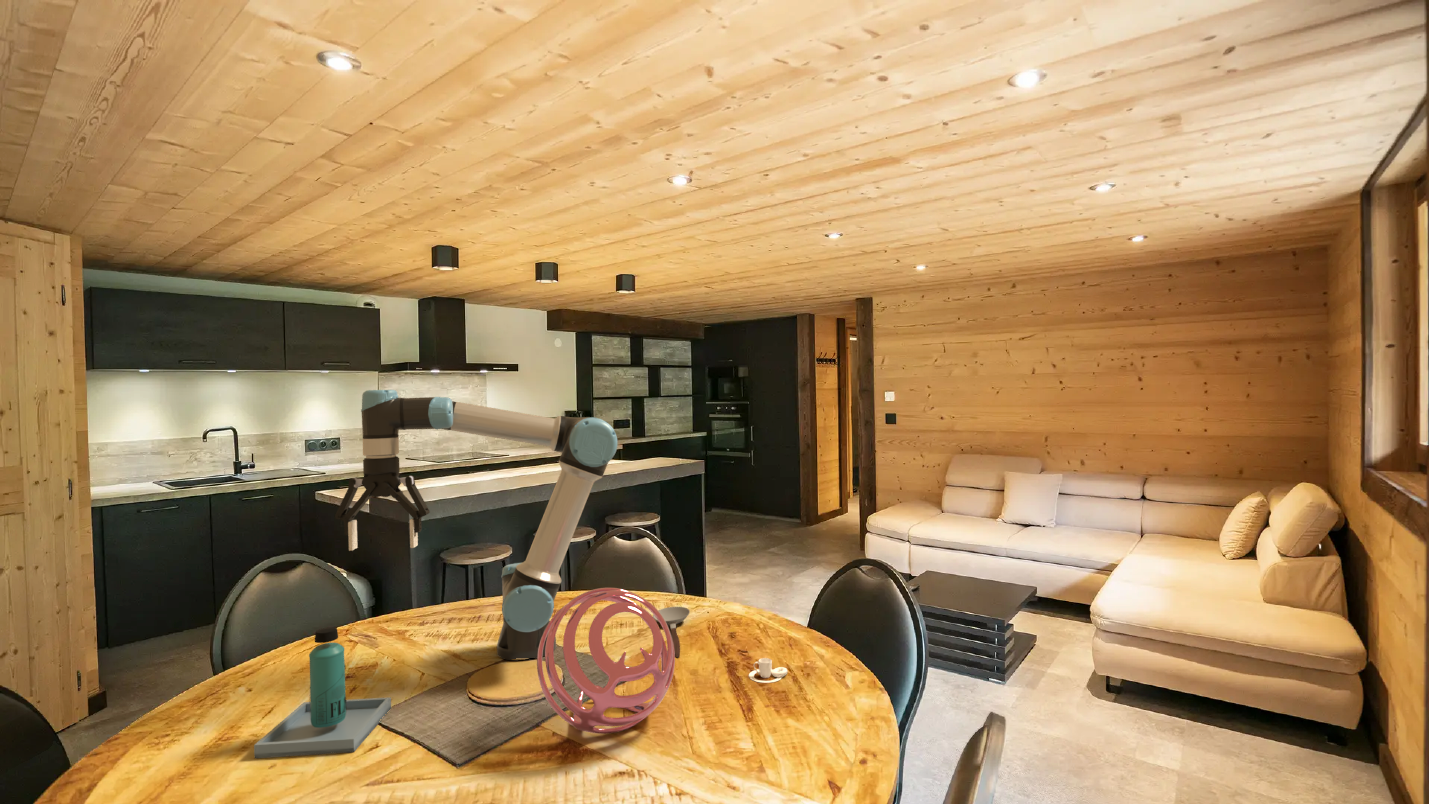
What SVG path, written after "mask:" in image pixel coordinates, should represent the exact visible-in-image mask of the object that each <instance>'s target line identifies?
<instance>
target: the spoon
mask: <svg viewBox="0 0 1429 804" xmlns="http://www.w3.org/2000/svg"><path fill="white" fill-rule="evenodd" d="M657 610H658V609H657ZM658 611H659V612H660V614H661V615H662V616H663V618H664V620H665V621H666V623H667V626H669V627H670V628H669V629H670V633H671V636H672V640H673V644H674V651H675V659H677V658H680V656H681V655H680V654H681V643H680V638H679V636H678V632H677V625H678V624H680V623H682V622H683V621H684V620H686V618H688V616H689V615H690V612H691V611H690V609H689V608H687V607H684V606H669V607H664V608H661V609H659V610H658ZM652 617H653V618H654V619H655V621H656V622H657V623H659V624H660V622H659V621H658V619H657V618H656V617H655V615H654V614H653V613H652Z"/></svg>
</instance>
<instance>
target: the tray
mask: <svg viewBox="0 0 1429 804" xmlns="http://www.w3.org/2000/svg"><path fill="white" fill-rule="evenodd" d="M309 702H310V701H305V702H302V703H301V704H300V705H299V706H298V707H296V708H295V709H294V710H293V711H292V712H290V714H289V715H287V716H286V717H285V718H284V719H283V720H281V722H279V723H278V724H277V725H276V726H274V727H273V728H272V729H271V730H270V731H269V732H267V733H266V734H265V735H264V736H263V737H262V738H261V739H259V740H258V741H257V742H255V744H254V745H253V749H254V751H253V755H254V756H253V757H254V759H264V758H265V759H266V758H281V757H282V758H283V757H297V756H298V757H299V756H312V755H313V756H314V755H327V754H329V755H330V754H344V753H346V754H347V753H355V752H356V751H357V749H358V748H359V747H360V746H361V745H362V744H363V742H364V741H365V740H366V739H367V738H368V736H369V735H371V733H372V732H373V731H374V730H375V729H376V728H377V726H378V725H379V724H380V722H381V721H380V719H382V717H383V716H385V717H386V715H387V714H388V713H389V712H390V711H391V710H392V697H391V696H390V697H375V698H374V697H372V698H357V699H356V698H355V699H346V705H347V706H346V708H347V709H346V711H347V712H346V716H345V719H344V720H343V721H342V722H340V723H338V724H336V725H332V726H329V727H321V728H318V727H313V726H312V724H311V709H310V708H311V707H310V703H309ZM390 709H391V710H390ZM389 710H390V711H389ZM388 711H389V712H388ZM387 712H388V713H387ZM385 714H386V715H385ZM382 720H383V719H382ZM379 721H380V722H379Z"/></svg>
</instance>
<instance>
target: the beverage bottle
mask: <svg viewBox="0 0 1429 804" xmlns="http://www.w3.org/2000/svg"><path fill="white" fill-rule="evenodd" d="M338 638H339V634H338V627H335V626H328V627H322V628H319V629H317V630H316V631H315V633H314V642H315V643H316V644H319V645H317V646H315V647H314V648H313V649H312V650H311V651H310V652H309V655H308V657H309V683H310V685H309V701H308V702H309V703H310V707H311V708H310V709H311V724H312V726H313V727H318V728H321V727H329V726H332V725H336V724H338V723H340V722H342V721H343V720H344V719H345V716H346V712H347V711H346V709H347V708H346V706H347V705H346V700H347V694H346V690H347V689H346V688H347V687H346V662H345V647H344V646H343V645H341V644H340V643H338V642H334V641H335V640H338Z"/></svg>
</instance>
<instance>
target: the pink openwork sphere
mask: <svg viewBox="0 0 1429 804" xmlns="http://www.w3.org/2000/svg"><path fill="white" fill-rule="evenodd" d="M630 599H632V600H630ZM633 600H634V601H637V602H639V603H640V604H642V605H643V606H644V607H646V608H647V609H648V610H649V611H650V612H649V611H648V610H646V609H645V608H643V607H642V606H640V605H639V604H637V603H636V602H634V601H633ZM600 601H608V602H613V603H611V604H609V605H607V606H605V607H603V608H602V609H601V610H600V611H599V612H598V613H597V614H596V616H595V617H594V618H593V621H592V622H591V624H590V627H589V631H588V647H589V648H588V649H589V651H590V654H591V657H592V659H593V661H594V663H595V664H596V666H597V668H599V670H601V672H603V673H604V674H605V675H607V677H608V681H607V683H606V685H605V686H603V687H602V686H601V685H597V684H595V683H593V682H592V681H591V680H590V679H589V678H588V676H587V675H586V674H585V672H584V671H583V669H582V667H581V666H580V663H579V660H578V657H577V652H576V633H577V629H578V626H579V623H580V622H581V619H582V618H583V616H584V614H585V613H586V612H587V611H588V610H589V609H590V608H591V607H592V606H593V605H595V604H597V603H598V602H600ZM577 605H578V606H577ZM575 606H577V607H576V608H575V610H574V611H573V613H572V614H571V616H570V617H569V619H568V622H567V623H566V626H565V630H564V635H563V641H562V642H563V643H562V650H563V651H562V652H563V659H564V662H565V663H564V664H565V666H566V669H567V672H568V673H569V676H570V678H571V679H572V681H573V682H574V685H576V686H577V688H578V689H579V690H580V692H579V694H578V697H577V700H576V701H575V699H574V698H572V696H571V695H570V693H568V692H567V690H566V688H565V687H564V686H563V683H562V682H561V680H560V678H559V673H558V670H557V668H556V663H555V656H554V655H555V652H554V651H555V650H554V640H555V637H556V634H557V631H558V628H559V625H560V624H561V622H562V620H563V619H564V617H565V615H566V614H567V612H568V611H570V609H571V608H573V607H575ZM621 613H631V614H635V615H636V616H639V617H640V618H641V619H642V620H643V621H644V623H645V624H646V625H647V626H648V628H649V629H650V631H651V633H652V640H653V641H652V642H653V643H652V644H653V645H652V649H651V652H650V653H648V652H647V651H646V650H645V649H644V648H643V647H640V648H639V650H640V653H641V654H642V656H643V659H644V661H643V662H642V663H639V664H638V665H635V666H626V665H625V660H626V654H627V651H624V652H623V653H622V655H621V656H620V658H619V660H618V661H617V662H615V661H614V660H613V659H611V657H610V656H609V654H607V652H606V650H605V647H604V645H603V644H604V643H603V631H604V628H605V626H606V624H607V622H608V621H609V620H610V619H611V618H612V617H614V616H615V615H617V614H621ZM650 613H652V614H650ZM653 614H654V615H655V617H656V618H657V619H658V621H659V622H660V623H659V622H657V621H656V620H655V619H654V618H653ZM658 623H659V624H660V626H661V627H662V629H663V632H664V634H665V638H666V639H665V638H664V636H663V634H662V632H661V629H660V626H659V624H658ZM548 632H549V633H548ZM547 634H548V636H547ZM546 637H547V641H546V647H545V656H544V657H545V658H544V662H545V668H546V673H547V677H548V680H549V682H550V684H551V687H552V690H553V691H554V692H555V694H556V696H557V698H558V699H559V700H560V702H562V704H563V705H564V706H565V707H566V708H567V709H568V710H569V711H570V712H571V713H573V715H572V717H571V716H570V715H569V714H568V713H566V712H565V711H564V710H563V709H562V708H561V706H559V705H558V703H557V701H555V699H554V698H553V696H552V694H551V692H550V690H549V688H548V686H547V683H546V679H545V674H544V669H543V656H542V654H543V647H544V643H545V640H546ZM665 641H666V642H665ZM660 661H661V670H660V668H659V662H660ZM675 663H676V656H675V651H674V644H673V640H672V636H671V629H670V628H669V625H667V623H666V621H665V620H664V618H663V616H662V615H661V614H660V612H659V611H658V609H657V608H656V607H655V606H654V604H652V603H651V602H650V601H648V600H647V599H645V598H644V597H643V596H640V595H639V594H636V593H634V592H632V591H629V590H626V589H622V588H619V587H618V588H617V587H600V588H595V589H590V590H588V591H585V592H583V593H581V594H579V595H577V596H575V597H573V598H572V599H571V600H570V601H568V603H566V604H565V605H564V606H562V607H561V608H560V609H559V610H558V611H557V612H556V613H554V614H553V615H552V617H551V618H550V622H549V623H548V625H547V627H546V628H545V630H544V632H543V635H542V637H541V640H540V644H539V648H538V654H537V658H536V670H537V677H538V681H539V685H540V688H541V690H542V693H543V695H544V697H545V699H546V701H547V703H548V705H550V707H551V708H552V710H553V711H554V712H555V713H556V714H557V715H558V716H559V717H560V719H562V720H564V722H566V723H567V724H569V725H570V726H572V727H573V728H575V729H576V730H578V731H581V732H586V733H590V734H591V733H592V734H597V735H598V734H599V735H607V734H609V735H610V734H615V733H620V732H623V731H626V730H628V729H629V730H630V729H631V728H633V727H635V726H637V725H638V724H640V723H641V722H642V721H643V720H645V719H646V718H648V716H650V714H652V713H653V712H654V711H655V709H656V708H657V707H658V706H660V704H661V702H662V701H663V699H664V698H665V696H666V694H667V692H668V690H669V688H670V686H671V683H672V680H673V677H674V673H675ZM650 674H652V677H653V683H652V685H650V686H649V687H648V688H646V689H644V690H643V691H641V692H638V693H634V694H629V695H619V694H616V693H615V690H616V687H617V684H618V683H620V682H633V681H638V680H641V679H643V678H645V677H646V676H649V675H650ZM584 694H585V696H587V697H588V698H589V699H590V700H591V701H592V703H593V706H592V707H591V708H586V707H584V706H583V699H584V698H583V697H584ZM652 698H653V699H652ZM650 699H652V700H651V701H649V700H650ZM647 701H649V702H647ZM611 708H613V709H615V708H617V709H625V710H628V711H631V712H634V714H631V715H628V716H622V717H609V716H607V715H606V716H605V714H604V713H605V711H606V710H608V709H611ZM598 726H599V727H600V726H601V727H609V728H599V727H598ZM610 727H611V728H610Z"/></svg>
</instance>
